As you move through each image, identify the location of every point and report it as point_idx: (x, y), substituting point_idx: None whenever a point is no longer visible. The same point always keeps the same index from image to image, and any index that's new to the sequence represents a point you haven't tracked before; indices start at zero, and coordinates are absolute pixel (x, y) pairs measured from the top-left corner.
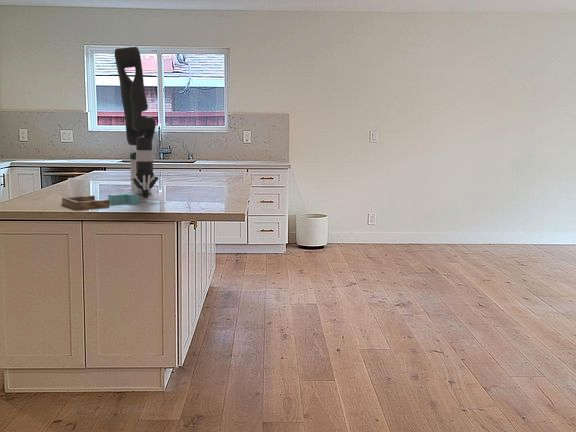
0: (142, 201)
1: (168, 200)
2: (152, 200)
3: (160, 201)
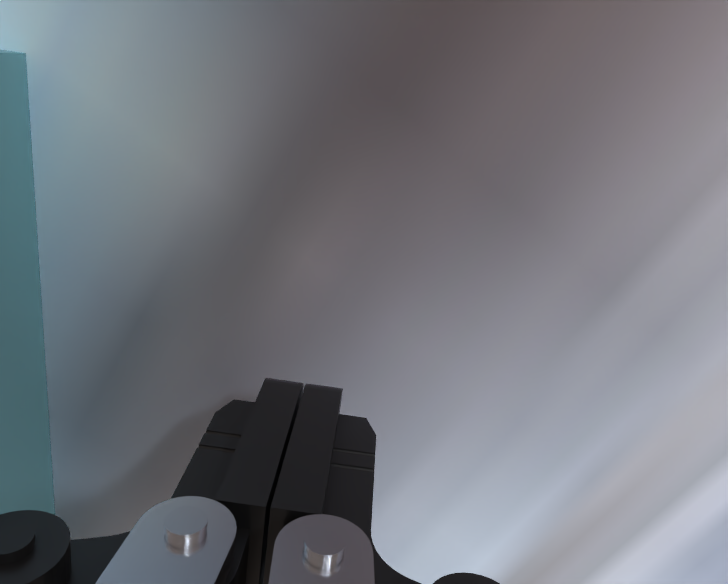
0: (240, 384)
1: (714, 568)
2: (487, 392)
3: (510, 575)
